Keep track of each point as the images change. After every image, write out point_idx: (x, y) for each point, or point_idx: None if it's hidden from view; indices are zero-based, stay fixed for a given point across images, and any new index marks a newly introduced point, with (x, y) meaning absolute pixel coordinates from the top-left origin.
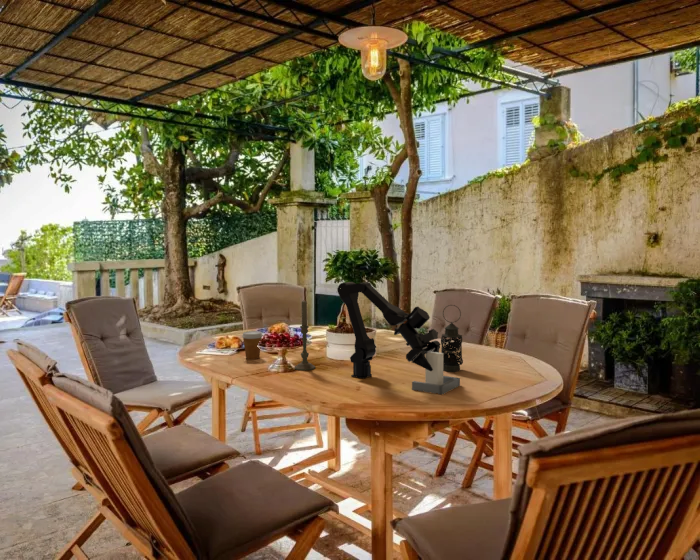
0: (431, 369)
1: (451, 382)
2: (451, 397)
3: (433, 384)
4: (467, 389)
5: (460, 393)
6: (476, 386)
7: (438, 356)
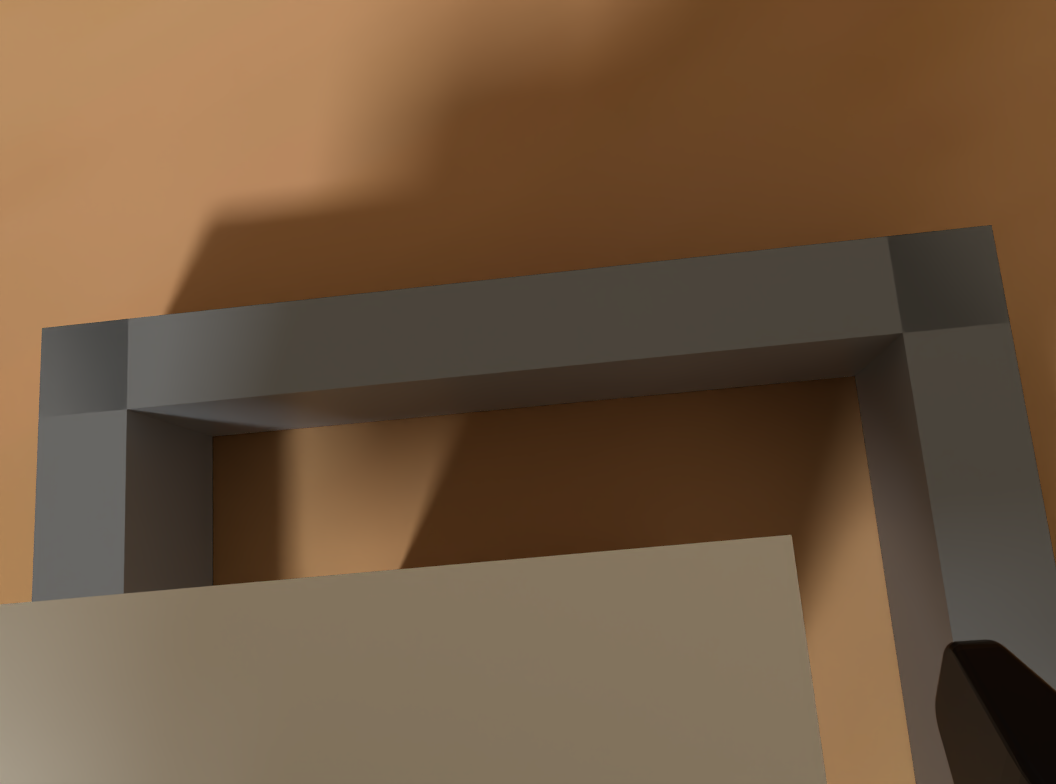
0: (1010, 684)
1: (491, 283)
2: (979, 62)
3: (992, 496)
4: (298, 135)
5: (622, 87)
6: (26, 124)
7: (594, 554)
